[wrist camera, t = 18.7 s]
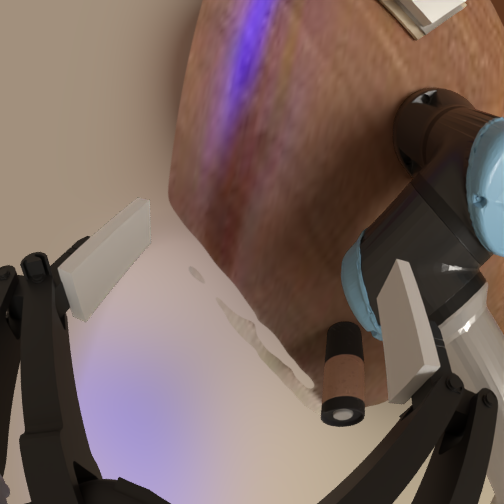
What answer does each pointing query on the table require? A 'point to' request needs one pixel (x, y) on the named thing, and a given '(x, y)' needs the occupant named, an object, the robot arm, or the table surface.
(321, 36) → the table surface
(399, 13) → the rail board
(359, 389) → the black tan cylinder
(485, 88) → the table surface
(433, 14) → the mounted modules
